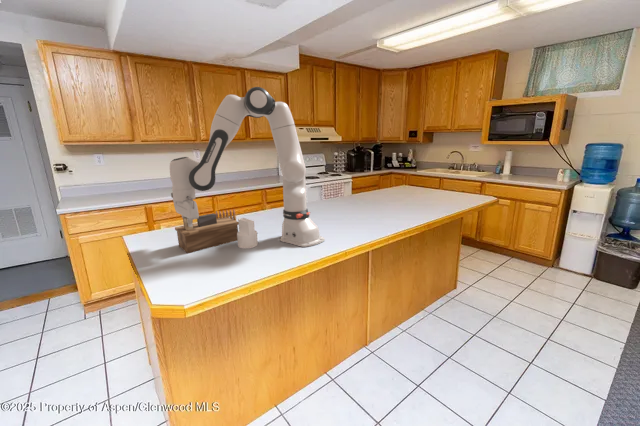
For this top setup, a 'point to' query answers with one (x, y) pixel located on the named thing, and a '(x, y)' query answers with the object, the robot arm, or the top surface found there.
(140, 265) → the top surface
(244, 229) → the base with upright slab
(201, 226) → the lid
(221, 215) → the ammunition clip
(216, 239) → the toolbox
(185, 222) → the pin
